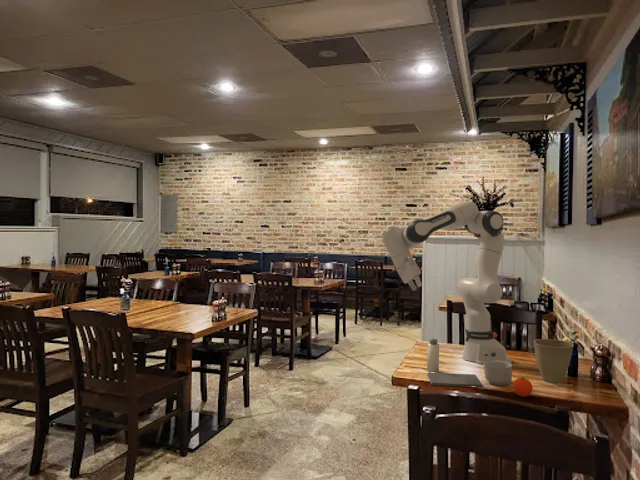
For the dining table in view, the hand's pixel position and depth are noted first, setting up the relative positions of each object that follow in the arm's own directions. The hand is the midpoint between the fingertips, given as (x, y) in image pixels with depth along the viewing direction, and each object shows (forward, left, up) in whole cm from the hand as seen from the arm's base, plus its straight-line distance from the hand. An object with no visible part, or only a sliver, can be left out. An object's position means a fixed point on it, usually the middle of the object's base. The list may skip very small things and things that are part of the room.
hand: (417, 288), depth 219 cm
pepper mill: (-7, +2, -36) cm, 37 cm away
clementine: (-37, +30, -36) cm, 60 cm away
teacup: (-32, +14, -36) cm, 51 cm away
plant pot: (-55, +9, -36) cm, 67 cm away
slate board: (-14, +15, -36) cm, 42 cm away
